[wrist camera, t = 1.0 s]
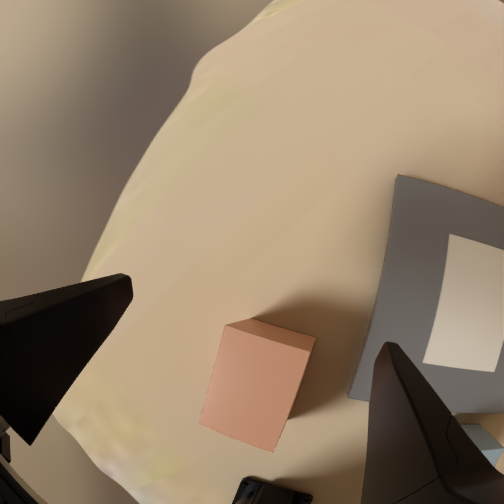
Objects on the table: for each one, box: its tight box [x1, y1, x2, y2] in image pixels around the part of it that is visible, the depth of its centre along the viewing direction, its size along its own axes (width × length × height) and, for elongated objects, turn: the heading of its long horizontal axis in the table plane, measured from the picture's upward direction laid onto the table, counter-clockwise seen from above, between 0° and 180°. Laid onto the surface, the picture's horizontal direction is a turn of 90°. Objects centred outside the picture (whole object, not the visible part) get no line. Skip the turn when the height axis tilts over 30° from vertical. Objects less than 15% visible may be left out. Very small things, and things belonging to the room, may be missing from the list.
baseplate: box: [347, 174, 504, 413], centre depth 15 cm, size 16×16×1 cm
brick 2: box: [460, 424, 504, 466], centre depth 11 cm, size 7×5×5 cm
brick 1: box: [199, 318, 316, 452], centre depth 17 cm, size 7×5×5 cm
